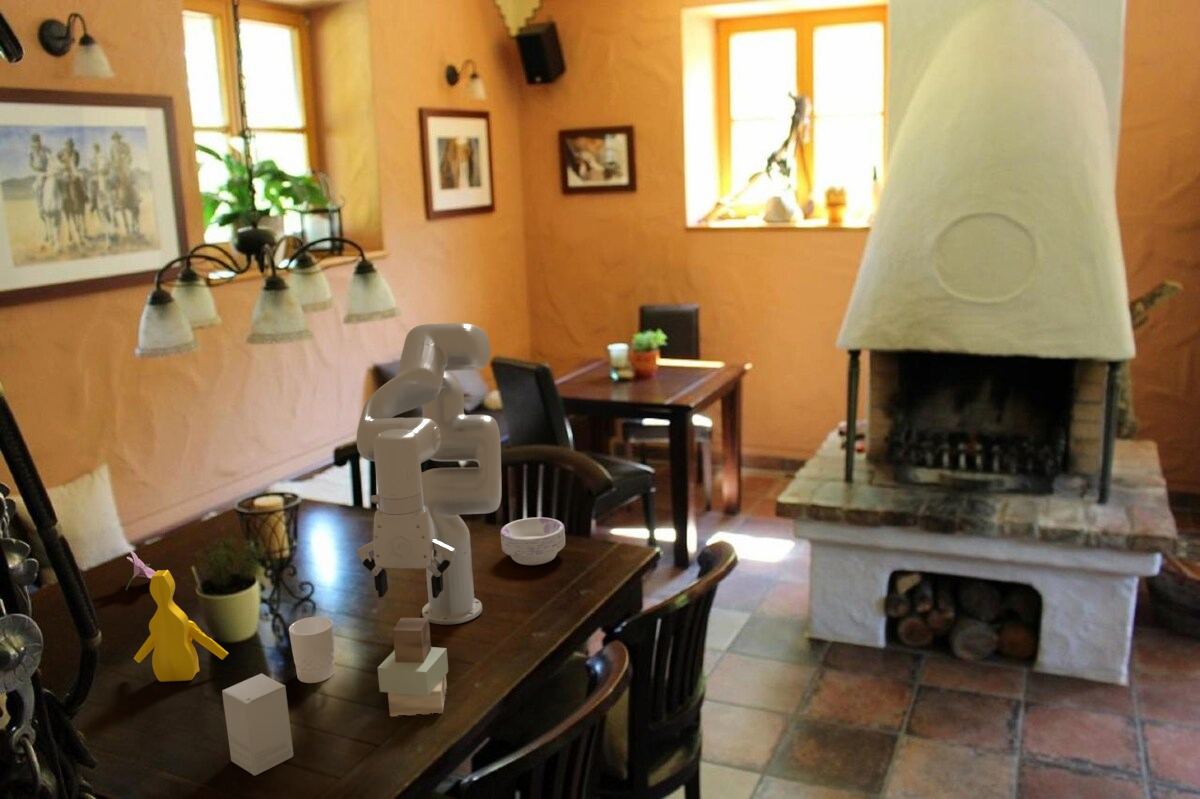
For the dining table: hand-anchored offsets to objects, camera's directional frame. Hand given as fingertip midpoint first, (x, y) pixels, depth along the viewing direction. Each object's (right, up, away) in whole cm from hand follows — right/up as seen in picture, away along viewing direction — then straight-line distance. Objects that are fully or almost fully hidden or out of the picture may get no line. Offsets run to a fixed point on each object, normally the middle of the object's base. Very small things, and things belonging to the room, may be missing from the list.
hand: (410, 594), depth 182 cm
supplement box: (-21, -24, -13) cm, 35 cm away
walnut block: (0, -11, +1) cm, 11 cm away
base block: (+1, -20, +3) cm, 20 cm away
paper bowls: (+17, -4, +67) cm, 70 cm away
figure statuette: (-46, -19, +15) cm, 52 cm away
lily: (-72, -10, +59) cm, 93 cm away
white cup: (-20, -18, +14) cm, 31 cm away
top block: (+1, -16, +1) cm, 16 cm away
